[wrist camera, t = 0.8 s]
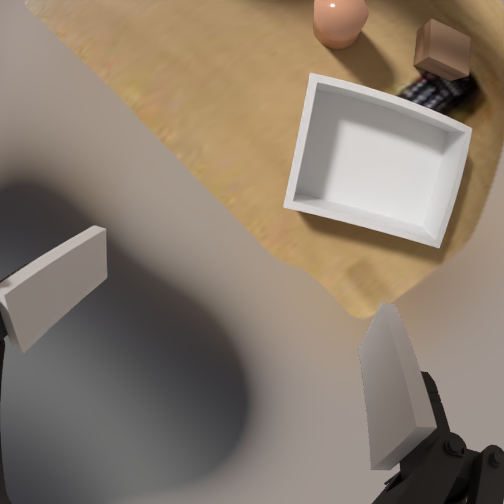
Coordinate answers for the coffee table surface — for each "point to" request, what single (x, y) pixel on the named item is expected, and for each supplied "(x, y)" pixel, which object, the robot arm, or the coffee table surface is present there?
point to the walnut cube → (442, 51)
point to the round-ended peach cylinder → (339, 21)
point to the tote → (376, 161)
